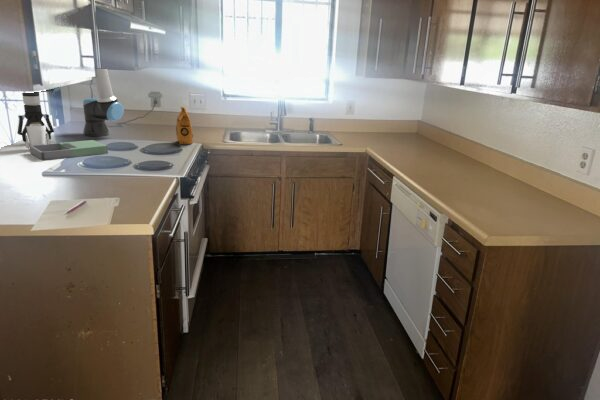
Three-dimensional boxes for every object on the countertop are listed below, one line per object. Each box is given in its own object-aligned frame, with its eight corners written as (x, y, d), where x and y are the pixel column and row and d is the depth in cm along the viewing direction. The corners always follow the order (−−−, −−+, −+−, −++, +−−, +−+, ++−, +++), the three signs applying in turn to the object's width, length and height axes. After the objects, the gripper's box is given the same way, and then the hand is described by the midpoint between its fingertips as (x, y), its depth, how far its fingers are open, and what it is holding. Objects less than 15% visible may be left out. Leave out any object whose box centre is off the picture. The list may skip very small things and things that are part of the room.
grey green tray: (93, 146, 244) (93, 139, 242) (108, 153, 231) (107, 145, 230) (30, 153, 221) (29, 145, 220) (42, 160, 209) (41, 152, 208)
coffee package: (176, 144, 262) (175, 108, 255) (176, 140, 273) (175, 105, 266) (193, 144, 264) (192, 108, 258) (192, 140, 276) (191, 106, 269)
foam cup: (27, 151, 224) (23, 126, 220) (28, 148, 232) (25, 124, 228) (48, 150, 229) (45, 126, 225) (49, 147, 236) (45, 123, 232)
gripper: (52, 102, 233) (58, 143, 240) (5, 104, 218) (12, 147, 225) (57, 104, 228) (62, 145, 235) (9, 105, 213) (16, 150, 220)
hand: (38, 146), depth 230 cm, fingers closed on foam cup, 9 cm apart
